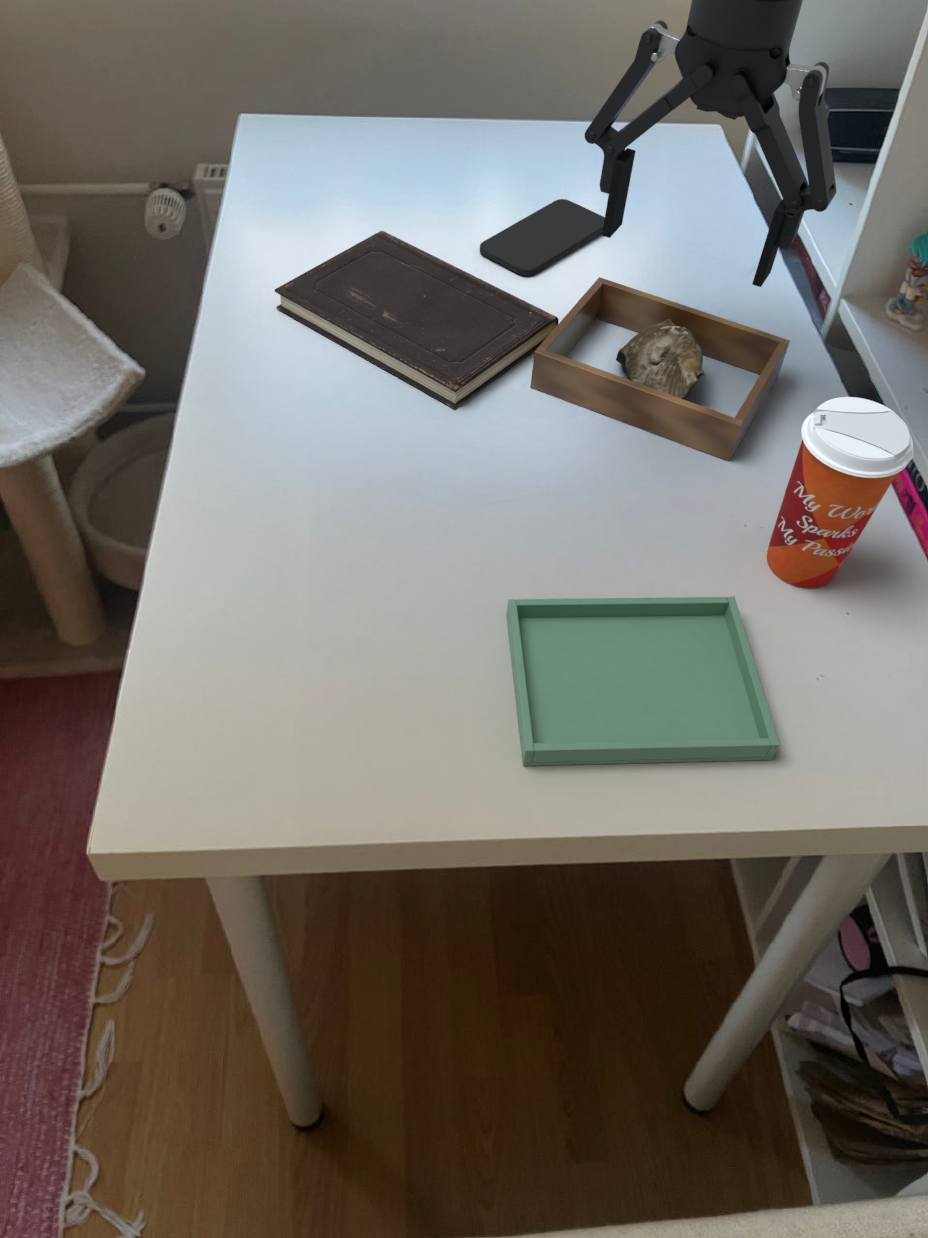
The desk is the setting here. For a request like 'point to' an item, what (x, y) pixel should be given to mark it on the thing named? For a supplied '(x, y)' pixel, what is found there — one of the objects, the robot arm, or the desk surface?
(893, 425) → the paper cup
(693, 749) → the tray
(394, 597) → the desk surface
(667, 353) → the fossilized seashell
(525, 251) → the phone
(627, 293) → the rectangular frame
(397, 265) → the hardcover book
